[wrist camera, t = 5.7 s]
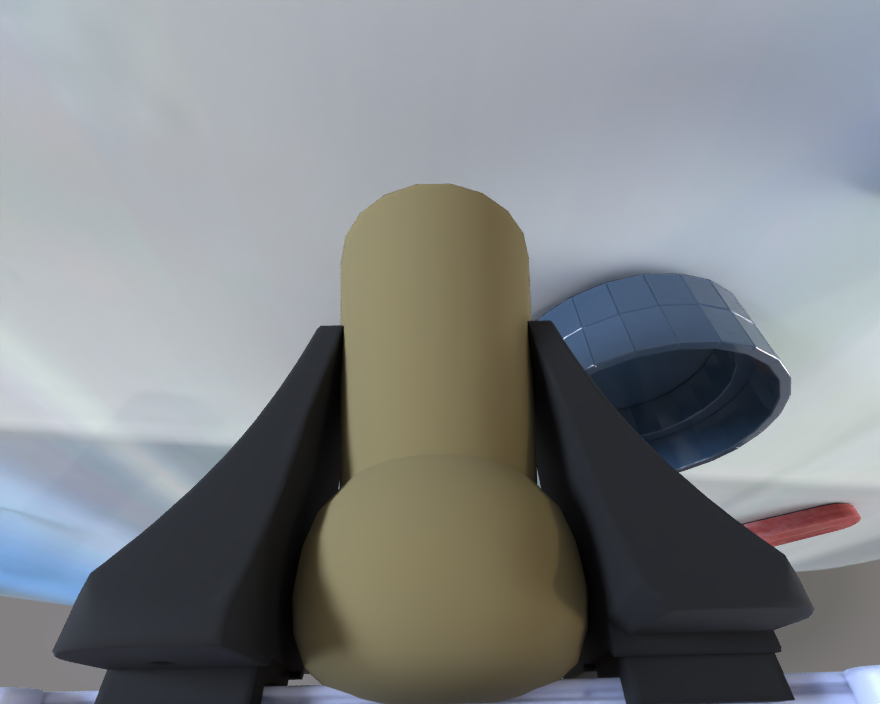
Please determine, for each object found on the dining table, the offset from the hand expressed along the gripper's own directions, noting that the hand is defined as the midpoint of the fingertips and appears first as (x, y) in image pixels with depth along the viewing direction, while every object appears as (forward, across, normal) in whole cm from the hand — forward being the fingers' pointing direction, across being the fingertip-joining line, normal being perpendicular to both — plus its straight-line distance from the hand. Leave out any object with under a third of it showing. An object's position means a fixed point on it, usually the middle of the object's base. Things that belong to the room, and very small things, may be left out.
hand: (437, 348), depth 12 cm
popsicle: (+9, -36, +40) cm, 54 cm away
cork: (+4, 0, 0) cm, 4 cm away
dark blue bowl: (+9, -11, +11) cm, 18 cm away
